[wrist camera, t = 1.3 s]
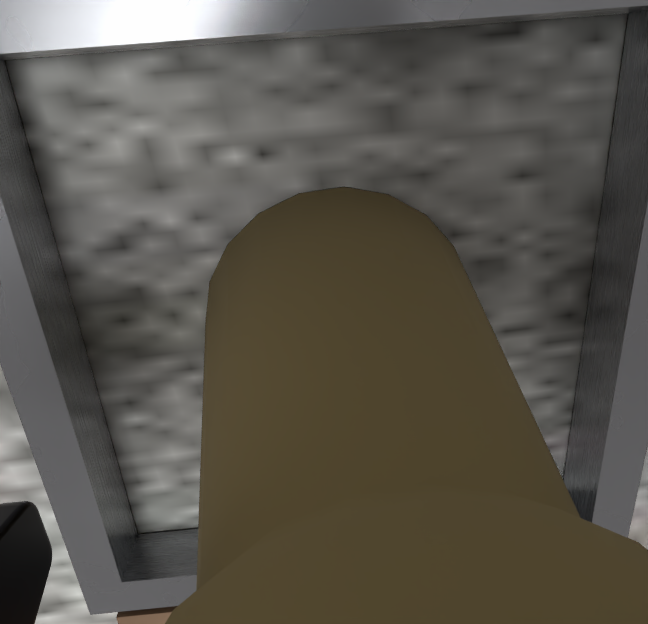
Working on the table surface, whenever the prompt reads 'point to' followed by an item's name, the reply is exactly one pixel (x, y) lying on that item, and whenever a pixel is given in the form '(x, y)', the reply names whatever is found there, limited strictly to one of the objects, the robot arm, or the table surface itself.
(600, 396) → the steel collar
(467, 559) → the cork
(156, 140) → the table surface
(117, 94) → the table surface
